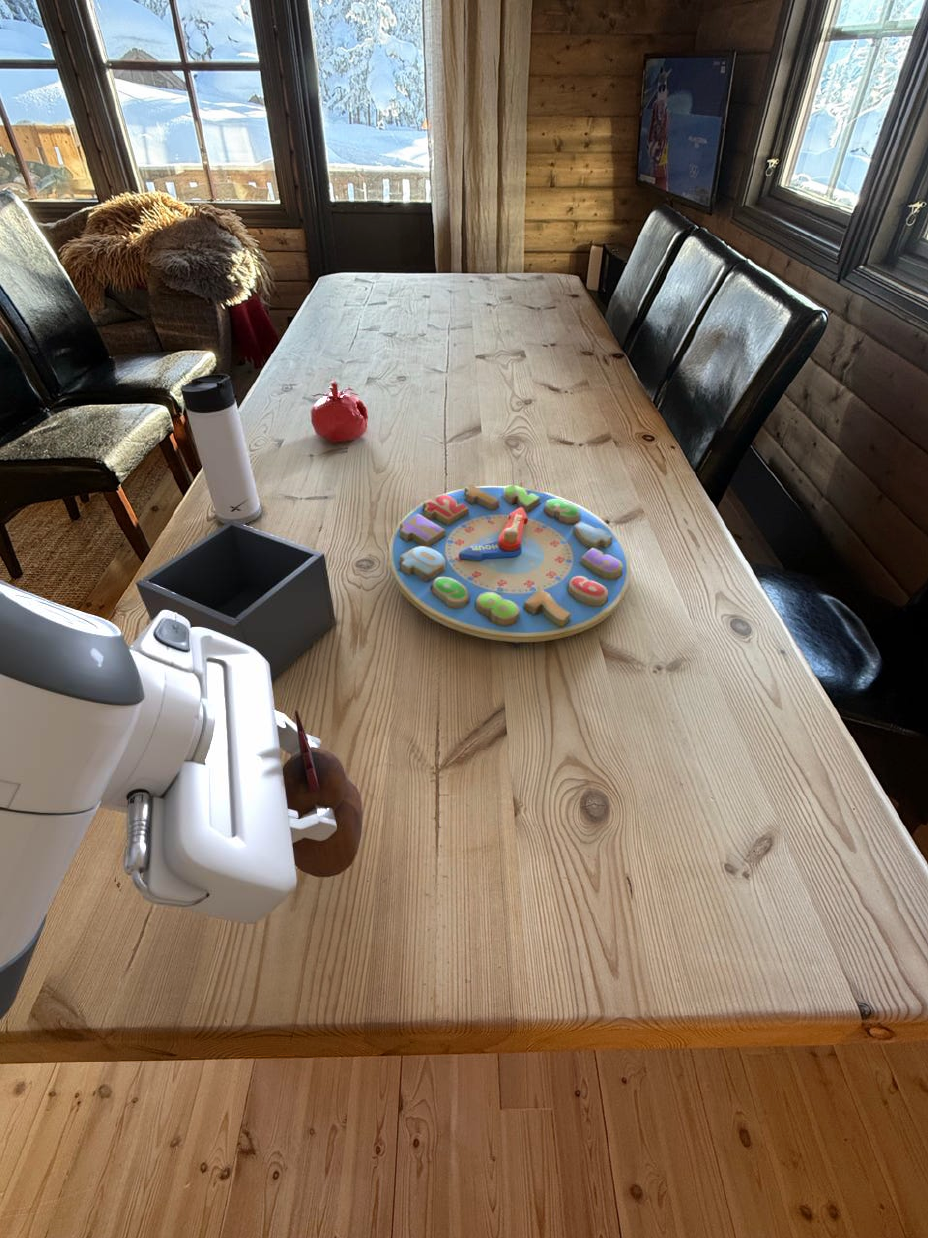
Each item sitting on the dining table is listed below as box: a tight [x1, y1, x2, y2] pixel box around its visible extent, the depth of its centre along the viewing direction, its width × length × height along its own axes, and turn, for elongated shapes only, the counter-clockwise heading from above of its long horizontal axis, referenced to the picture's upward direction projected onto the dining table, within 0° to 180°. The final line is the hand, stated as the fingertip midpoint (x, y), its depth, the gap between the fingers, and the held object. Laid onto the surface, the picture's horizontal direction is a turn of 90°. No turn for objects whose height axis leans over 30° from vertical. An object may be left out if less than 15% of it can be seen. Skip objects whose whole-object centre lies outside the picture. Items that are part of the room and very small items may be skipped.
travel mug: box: [180, 373, 262, 525], centre depth 89 cm, size 6×7×20 cm
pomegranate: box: [310, 381, 369, 444], centre depth 112 cm, size 10×10×9 cm
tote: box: [135, 520, 337, 683], centre depth 72 cm, size 14×14×10 cm
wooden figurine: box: [282, 709, 364, 878], centre depth 48 cm, size 7×6×15 cm
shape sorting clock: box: [388, 484, 632, 645], centre depth 83 cm, size 31×30×6 cm
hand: (323, 787), depth 47 cm, fingers closed on wooden figurine, 5 cm apart
